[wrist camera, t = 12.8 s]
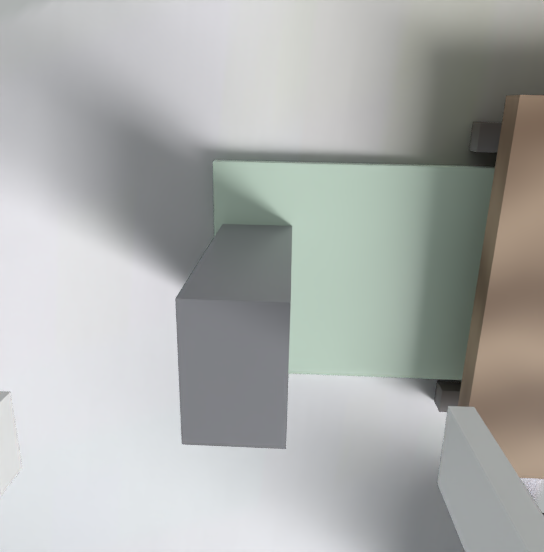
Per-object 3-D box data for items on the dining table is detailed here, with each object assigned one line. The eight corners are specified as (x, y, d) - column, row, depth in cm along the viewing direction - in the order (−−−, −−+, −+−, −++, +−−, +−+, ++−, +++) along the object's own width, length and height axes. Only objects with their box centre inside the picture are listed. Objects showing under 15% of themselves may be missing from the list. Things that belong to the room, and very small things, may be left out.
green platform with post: (560, 374, 32) (729, 543, 20) (219, 361, 33) (172, 516, 20) (606, 168, 28) (858, 216, 16) (216, 159, 29) (155, 197, 16)
